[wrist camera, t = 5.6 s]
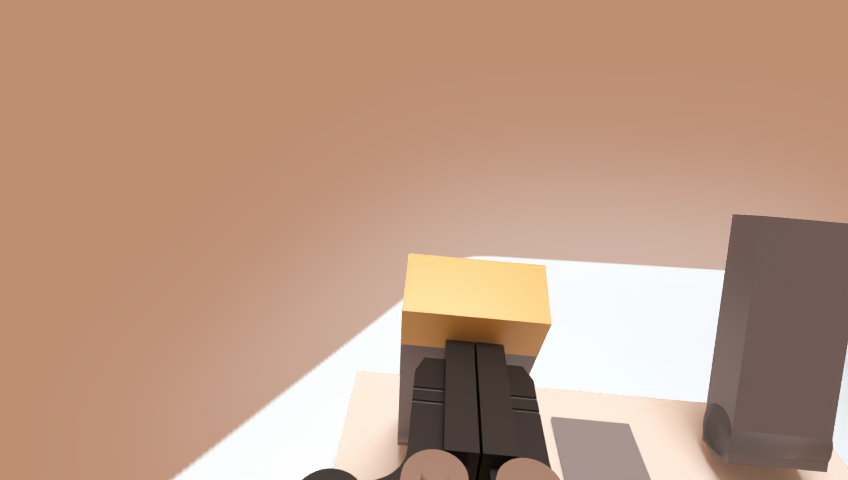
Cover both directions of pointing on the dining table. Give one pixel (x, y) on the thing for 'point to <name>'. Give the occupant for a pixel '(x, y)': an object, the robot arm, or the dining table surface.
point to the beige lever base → (571, 437)
